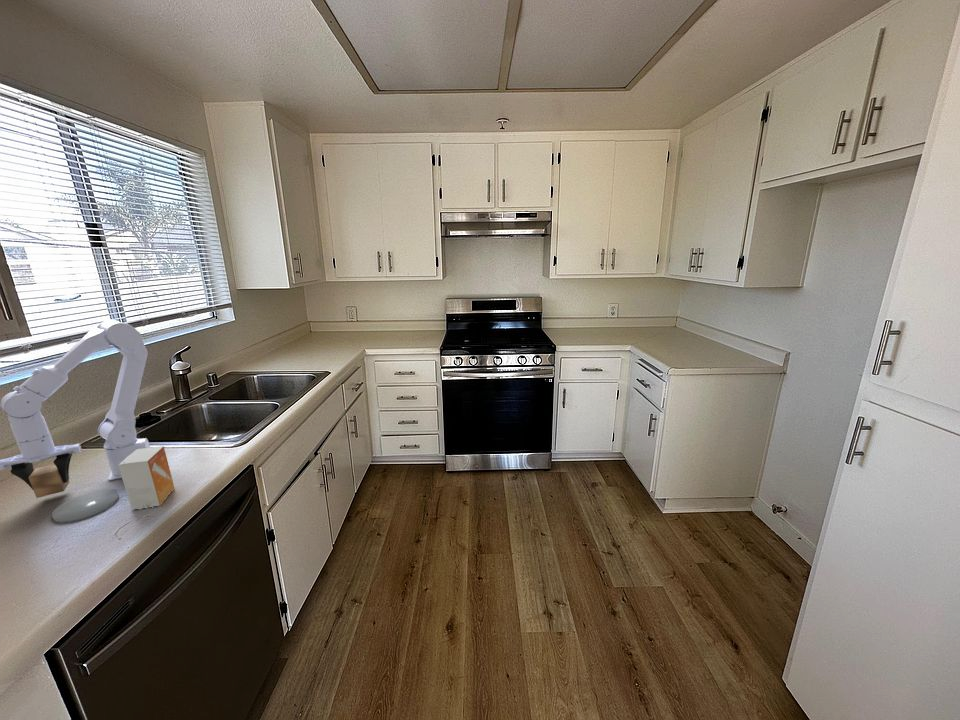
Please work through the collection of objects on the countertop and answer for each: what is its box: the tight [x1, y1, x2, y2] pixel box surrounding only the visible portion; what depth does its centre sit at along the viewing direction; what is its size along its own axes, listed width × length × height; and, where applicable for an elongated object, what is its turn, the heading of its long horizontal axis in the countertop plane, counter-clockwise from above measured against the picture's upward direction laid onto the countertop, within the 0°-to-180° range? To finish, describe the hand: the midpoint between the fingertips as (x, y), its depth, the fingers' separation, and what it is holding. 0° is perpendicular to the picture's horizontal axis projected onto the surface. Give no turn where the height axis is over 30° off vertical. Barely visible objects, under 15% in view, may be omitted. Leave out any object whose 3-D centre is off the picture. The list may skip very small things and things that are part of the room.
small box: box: [118, 445, 175, 511], centre depth 100 cm, size 8×6×13 cm
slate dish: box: [51, 488, 120, 524], centre depth 99 cm, size 12×12×1 cm
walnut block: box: [28, 463, 70, 499], centre depth 102 cm, size 5×5×6 cm
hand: (51, 484), depth 102 cm, fingers closed on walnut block, 5 cm apart
